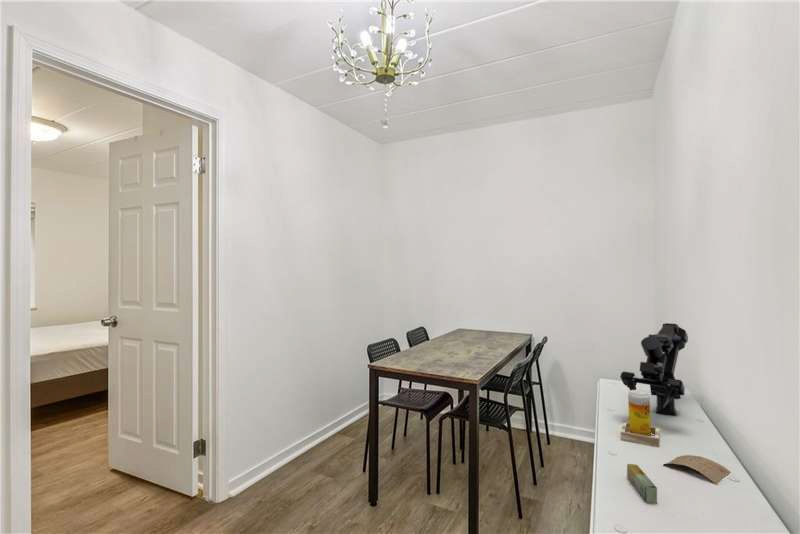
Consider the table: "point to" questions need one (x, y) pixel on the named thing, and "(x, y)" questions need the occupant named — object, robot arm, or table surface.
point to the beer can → (639, 412)
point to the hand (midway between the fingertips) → (647, 404)
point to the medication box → (642, 483)
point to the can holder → (640, 436)
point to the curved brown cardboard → (703, 467)
